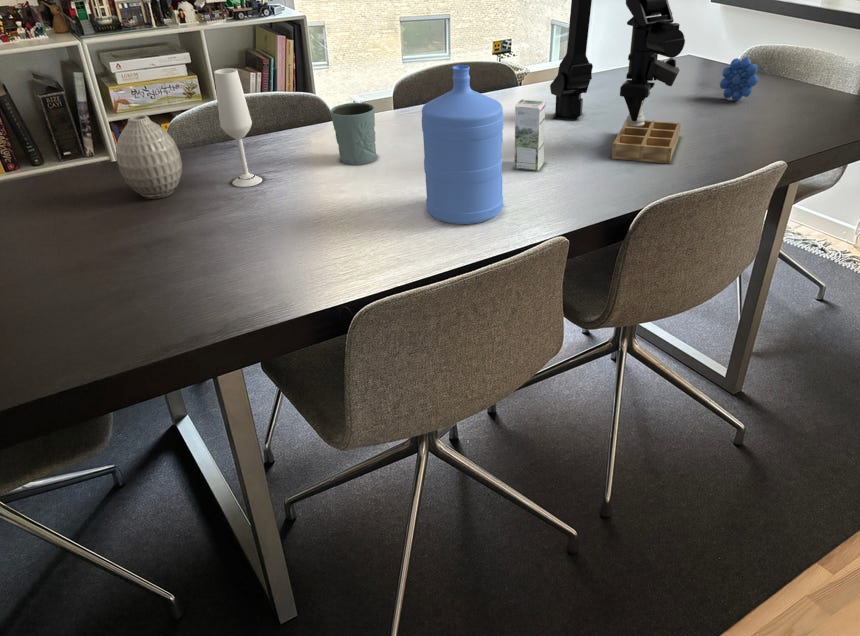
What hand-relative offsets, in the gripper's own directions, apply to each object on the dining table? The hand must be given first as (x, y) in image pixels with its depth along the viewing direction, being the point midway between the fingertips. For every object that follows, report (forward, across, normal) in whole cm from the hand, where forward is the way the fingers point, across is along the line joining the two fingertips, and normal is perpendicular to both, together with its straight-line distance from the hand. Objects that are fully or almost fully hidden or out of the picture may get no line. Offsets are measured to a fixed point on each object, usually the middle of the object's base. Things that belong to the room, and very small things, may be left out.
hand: (635, 118), depth 179 cm
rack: (+7, 0, -3) cm, 8 cm away
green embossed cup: (+7, -26, +62) cm, 67 cm away
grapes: (+7, +47, -22) cm, 52 cm away
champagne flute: (+7, -46, +80) cm, 92 cm away
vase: (+7, -58, +95) cm, 111 cm away
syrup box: (+7, -20, +21) cm, 30 cm away
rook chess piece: (+2, 0, 0) cm, 2 cm away
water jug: (+7, -48, +27) cm, 56 cm away
